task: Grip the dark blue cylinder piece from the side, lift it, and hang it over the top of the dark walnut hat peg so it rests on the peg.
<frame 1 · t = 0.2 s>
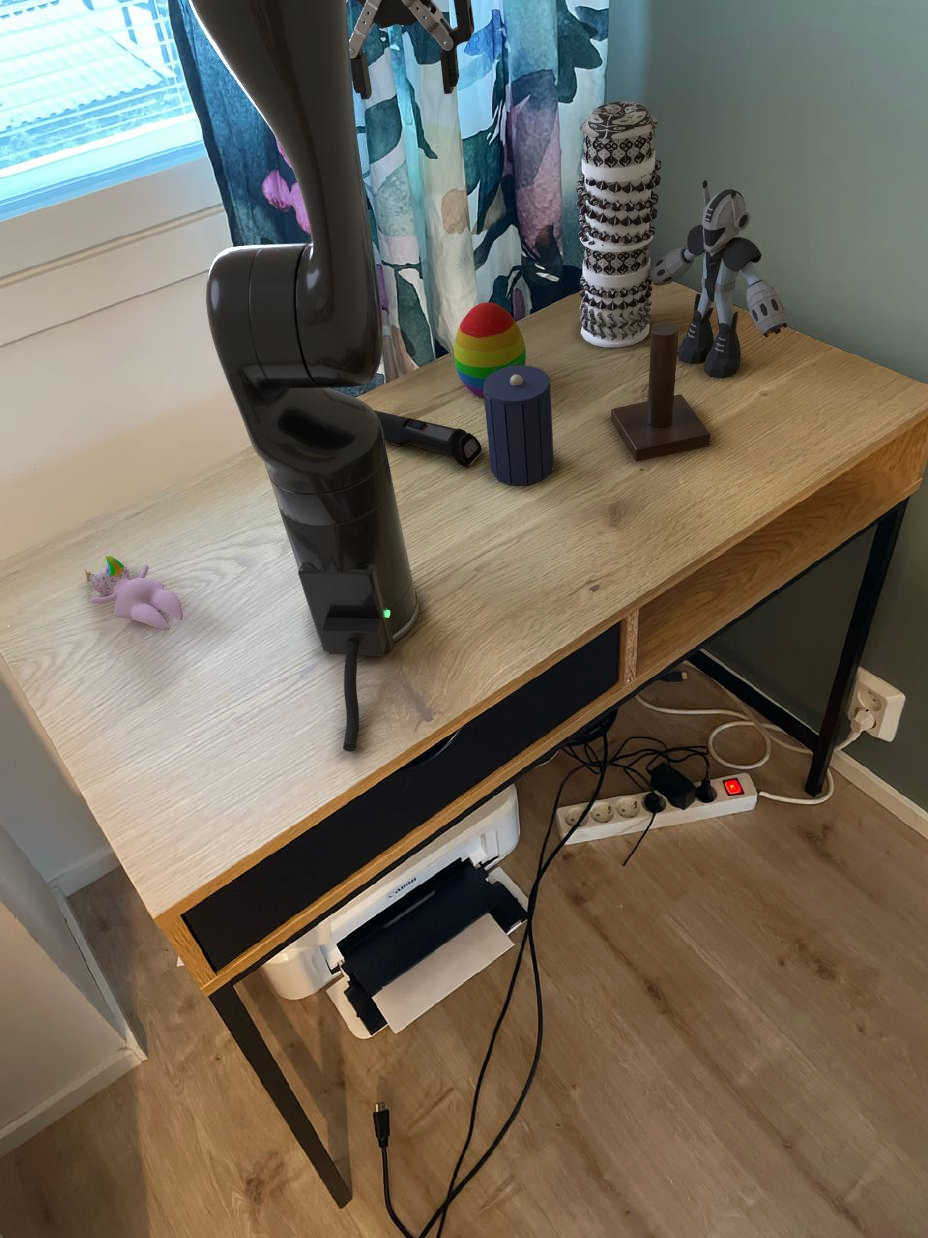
hand: (407, 94, 90), 29 cm above the table, tool pointing down, fingers open, 8 cm apart
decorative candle: (615, 331, 111), on the table
electric trimmer: (417, 446, 99), on the table
hat peg: (658, 432, 95), on the table
robot: (708, 362, 104), on the table
dark blue cylinder piece: (522, 467, 94), on the table
decorative egg: (492, 386, 106), on the table
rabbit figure: (142, 610, 85), on the table
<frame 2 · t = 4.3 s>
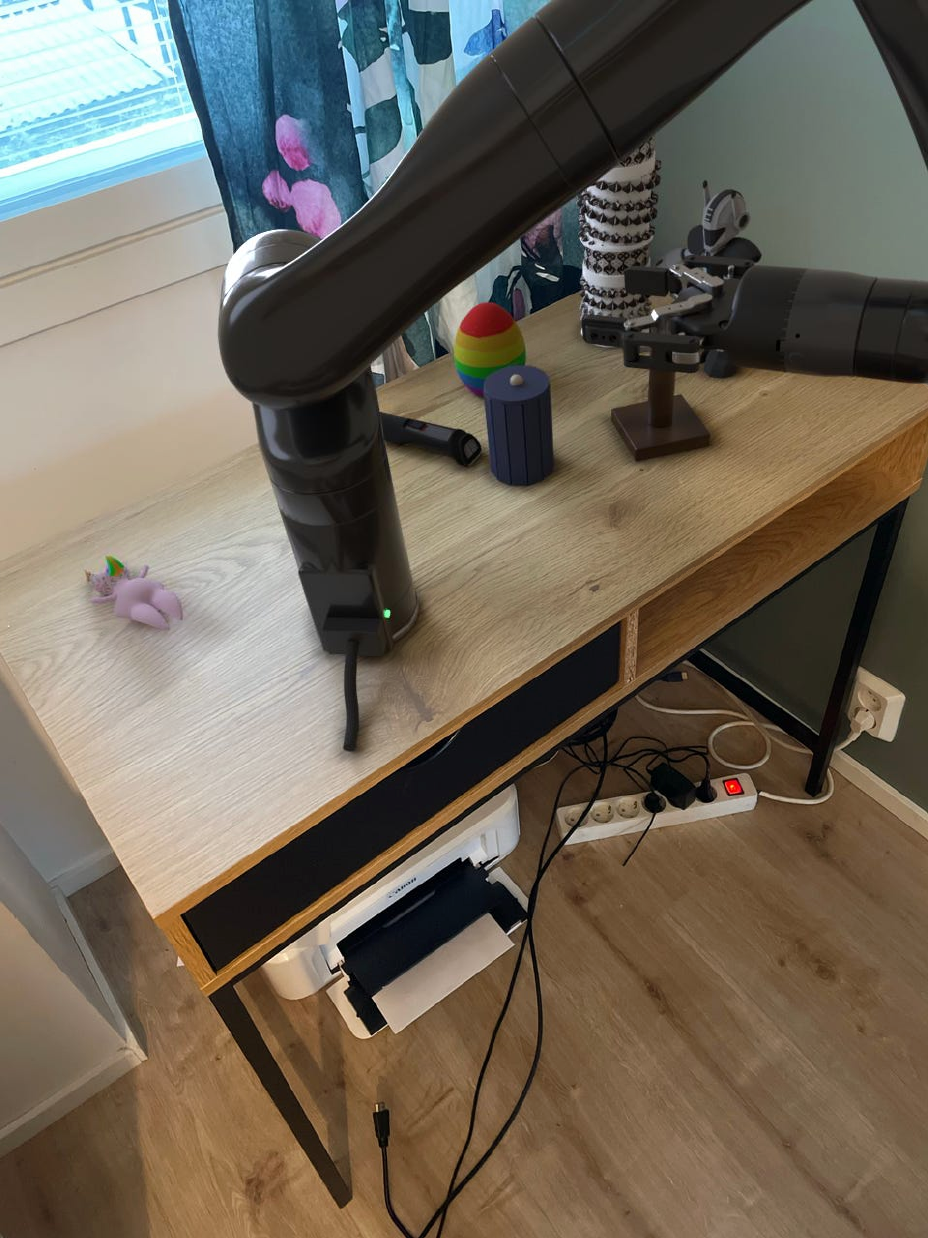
hand: (605, 303, 75), 20 cm above the table, tool horizontal, fingers open, 8 cm apart
nothing on the table moved.
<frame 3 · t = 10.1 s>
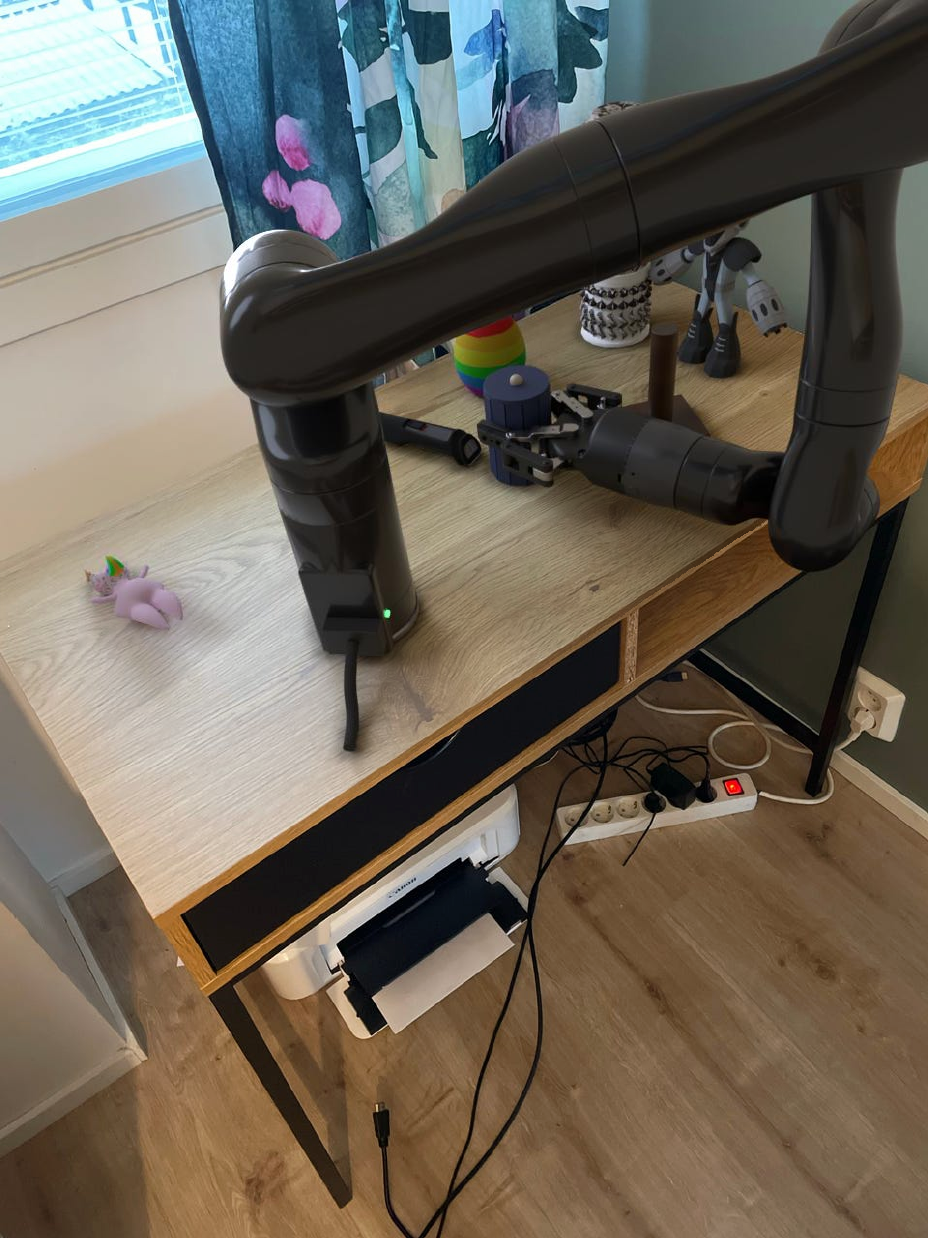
hand: (499, 412, 90), 6 cm above the table, tool horizontal, fingers closed on dark blue cylinder piece, 6 cm apart
dark blue cylinder piece: (522, 466, 94), on the table, touching gripper
everything else where it was.
when the fingers open (9 cm above the table, at t = 19.3 s): dark blue cylinder piece stays where it is, resting on hat peg.
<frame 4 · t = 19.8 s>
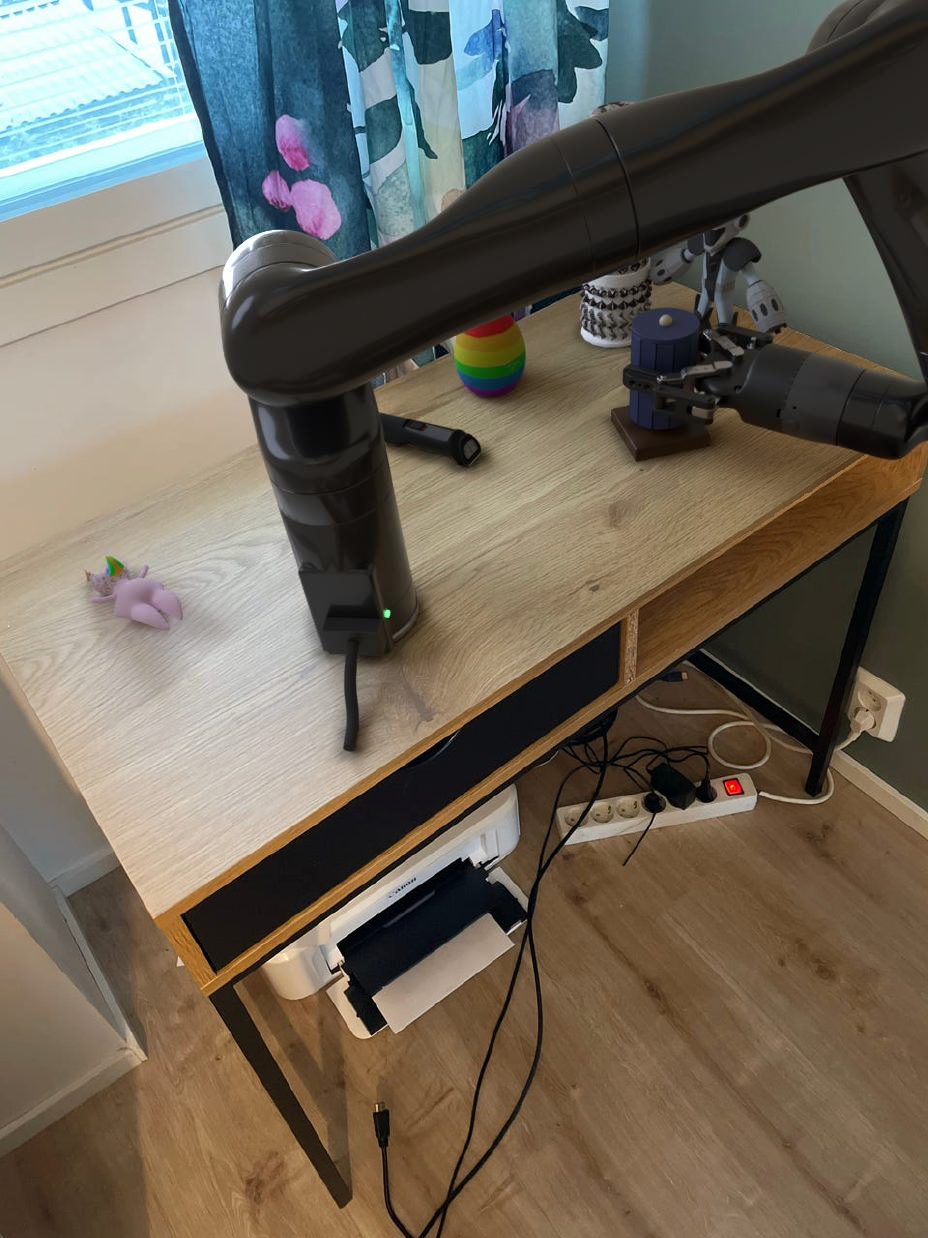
hand: (645, 354, 90), 9 cm above the table, tool horizontal, fingers open, 8 cm apart
dark blue cylinder piece: (660, 412, 94), point 2 cm above the table, touching hat peg
everything else where it was.
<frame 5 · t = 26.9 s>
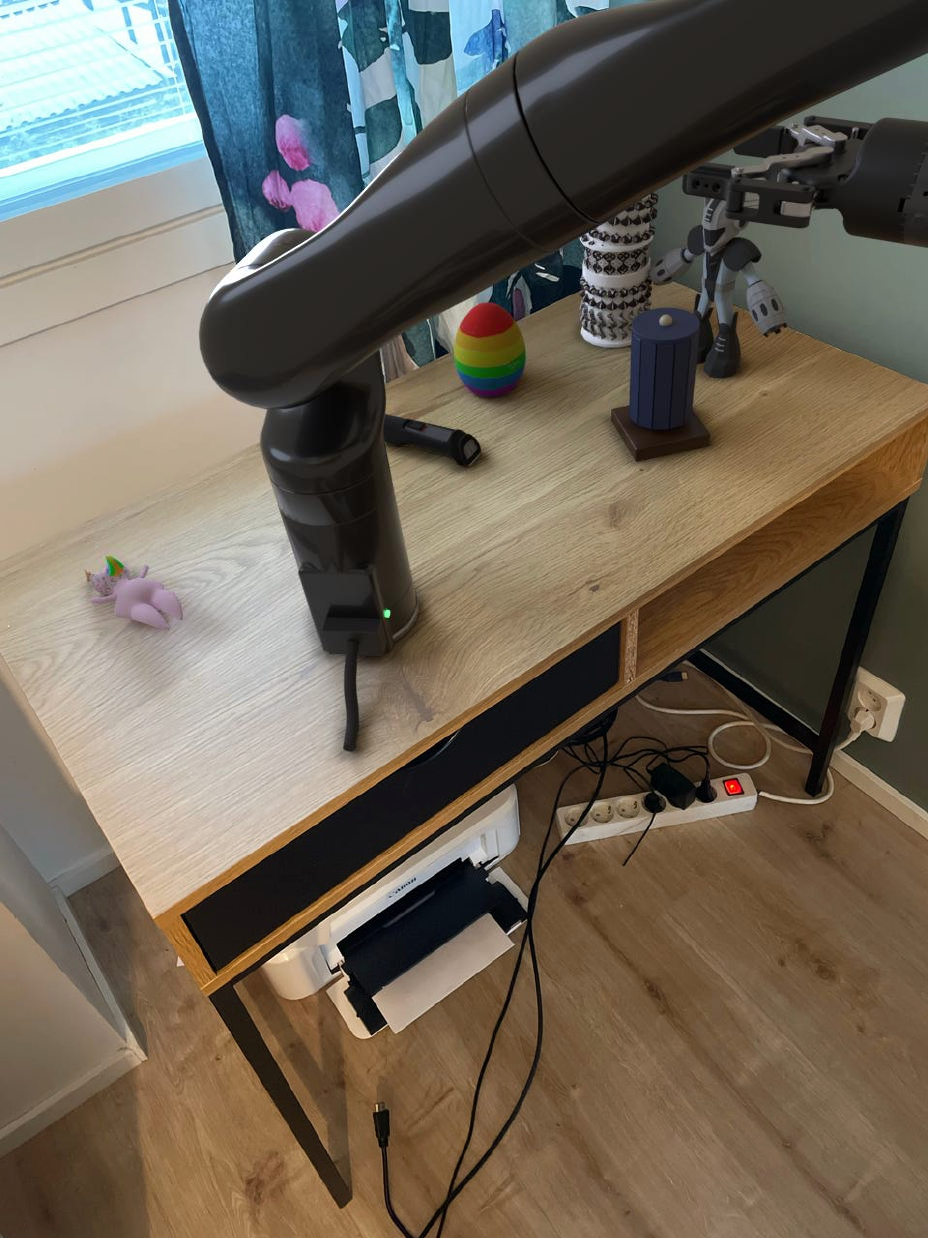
hand: (710, 156, 69), 30 cm above the table, tool horizontal, fingers open, 8 cm apart
nothing on the table moved.
at the end: dark blue cylinder piece 0.1 cm off-centre on the hat peg, point 2.5 cm above the hat peg's base; dark blue cylinder piece tilted 0°; the gripper is holding nothing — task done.
